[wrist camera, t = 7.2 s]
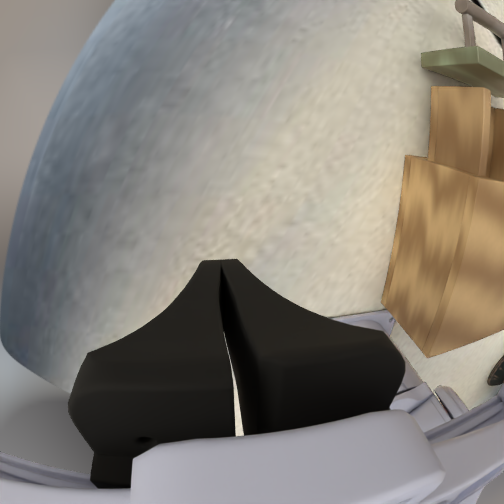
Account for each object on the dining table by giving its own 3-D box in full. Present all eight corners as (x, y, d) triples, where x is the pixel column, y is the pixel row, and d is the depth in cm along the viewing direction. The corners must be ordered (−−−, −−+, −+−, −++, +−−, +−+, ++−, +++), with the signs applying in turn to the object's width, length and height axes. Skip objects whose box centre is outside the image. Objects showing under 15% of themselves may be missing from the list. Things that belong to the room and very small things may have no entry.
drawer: (415, -3, 14) (466, -20, 8) (491, 36, 15) (538, 34, 10) (412, 203, 20) (464, 231, 15) (484, 206, 22) (530, 229, 16)
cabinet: (404, 154, 20) (479, 178, 13) (487, 168, 21) (549, 191, 14) (380, 302, 25) (427, 358, 18) (460, 288, 26) (506, 328, 19)
